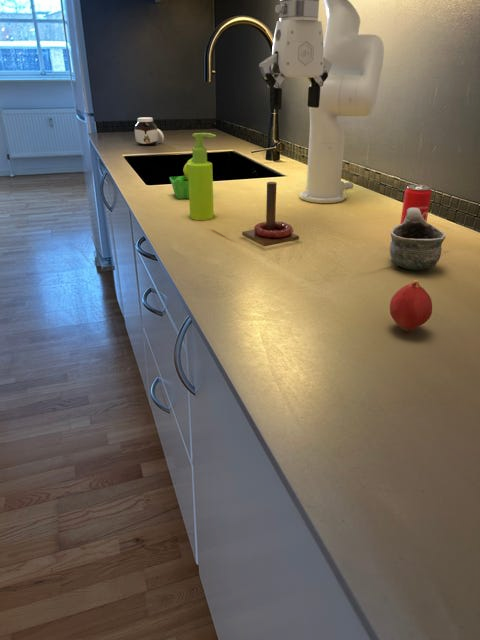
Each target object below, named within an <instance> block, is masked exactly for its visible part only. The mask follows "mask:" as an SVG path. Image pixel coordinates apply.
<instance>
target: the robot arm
mask: <svg viewBox="0 0 480 640" xmlns="http://www.w3.org/2000/svg"><path fill="white" fill-rule="evenodd" d="M323 3H324V8H325V12H326V20H327V21H326V28H325V33H324V31H323V30H324V29H323V24H322V23H323V22H322V21H321V20H319V14H320V13H319V9H320V0H279V4H276V5H275V8H274V11H275V13H276V14H278V17H279V20H277V21H276V25H275V29H274V35H273V42H272V43H273V44H272V49H271V50H272V51H271V55H270V56H268V57H267V58H266V59H264V60H263V61H261V62H260V63H259V64H258V67H259V69H260V73H261V75H262V79H263V81H264V82H265V83H266V85H267V88H269V109H270V110H277V111H280V110H281V109H282V100H283V88H282V87H280V86H282V84H283V82H284V80H285V79H286V78H307V80H308V82H309V86H308V90H307V107H308V111H309V136H308V151H307V152H308V155H307V171H306V187H305V190H303V191H301V193H300V199H301V200H303V201H305V202H310V203H315V204H336V203H340V202H343V201H345V200H346V194H345V193H344V191H345V190H353V188H354V183H353V182H352V181H348V182H344V181H342V174H343V164H344V163H343V162H344V152H345V151H344V150H345V140H346V133H345V129H344V127H343V124H342V123H341V122H340V119H338V117H367V116H369V115H371V114H372V112H373V110H374V108H375V106H376V102H377V98H378V91H379V87H380V80H381V76H382V69H383V65H384V64H383V63H384V56H385V48H384V47H385V46H384V42H383V40H382V38H381V37H380V36H378V35H377V34H370V33H369V34H368V33H367V34H365V33H364V34H359V32H360V26H361V17H360V15H359V12H358V11H357V9H356V7H354V5H353V3H352V2H351V1H350V0H323ZM270 67H271V71H270Z"/></svg>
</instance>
